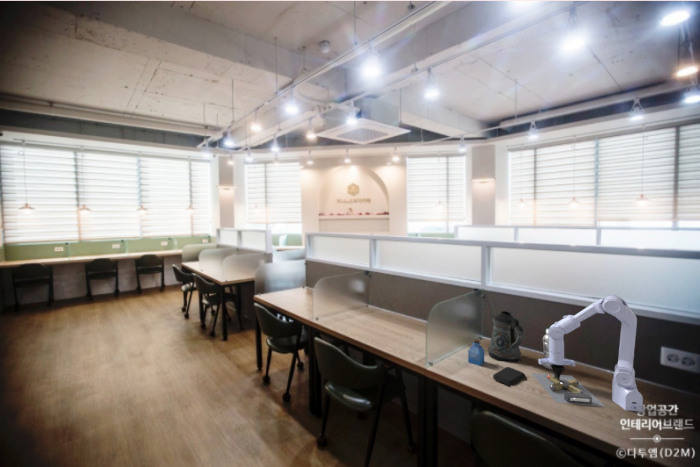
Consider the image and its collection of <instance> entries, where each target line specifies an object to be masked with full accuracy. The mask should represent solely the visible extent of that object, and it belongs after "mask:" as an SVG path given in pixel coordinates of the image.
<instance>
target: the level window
mask: <svg viewBox="0 0 700 467" xmlns="http://www.w3.org/2000/svg"><path fill="white" fill-rule="evenodd" d="M564 399H565V400H566V401H567V402H569V403H582V404H592V397H591V396H590V395H589V394H580V393H566V392H564Z"/></svg>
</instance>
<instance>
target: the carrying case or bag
mask: <svg viewBox="0 0 700 467" xmlns="http://www.w3.org/2000/svg"><path fill="white" fill-rule="evenodd" d="M492 378H493V379H494V380H495V381H496V382H497V383H498V382H499V383H501V384H504V385H506V386H507V387H511V386H515V385H516V384H518V383H520V382H521V381H522V380H524V381H525V380H526V379H527V376H526V374H525V373H524V372H523V371H521V370H518V369H515V368H513V367H511V366H507V367H505V368H503V369H500V370H499V371H497V372H495V373H494V374H493V375H492Z"/></svg>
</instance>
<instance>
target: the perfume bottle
mask: <svg viewBox="0 0 700 467" xmlns="http://www.w3.org/2000/svg"><path fill="white" fill-rule="evenodd" d="M480 341H481V340H480V339H478V338H473V340H472V345H471V346H470V347H469V349H468V350H467V353H468V354H467V356H468V357H467V363H469V364H472V365H476V366H479V367H481V365H483V364H484V363H485V349H484V348H483V346H482V345H481V342H480Z"/></svg>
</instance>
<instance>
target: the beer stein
mask: <svg viewBox="0 0 700 467" xmlns="http://www.w3.org/2000/svg"><path fill="white" fill-rule="evenodd" d="M492 323H493V327H492V333H491V338H490V342H489V344H488V346H487V351H488V355H489V357H490V358H491V359H492V360H495V361H498V362H505V363H506V362H508V363H519V362H518V361H521V359H522V358H521V356H522V352H521V348H520V346H521V345H522V343H523V342H524V340H525V336H526V335H525V331H524V329H523V327H522V326H521V325H520V321H519V319H518V318H515V317H514V316H513V315H512V314H511V312H510V311H507V310H504V311H501V312H499V314H497V315H495V316H493V318H492Z"/></svg>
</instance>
